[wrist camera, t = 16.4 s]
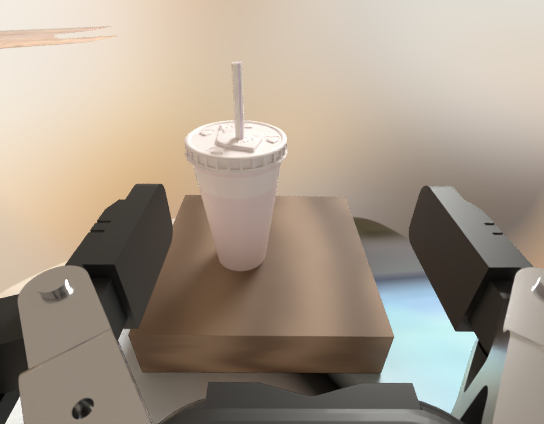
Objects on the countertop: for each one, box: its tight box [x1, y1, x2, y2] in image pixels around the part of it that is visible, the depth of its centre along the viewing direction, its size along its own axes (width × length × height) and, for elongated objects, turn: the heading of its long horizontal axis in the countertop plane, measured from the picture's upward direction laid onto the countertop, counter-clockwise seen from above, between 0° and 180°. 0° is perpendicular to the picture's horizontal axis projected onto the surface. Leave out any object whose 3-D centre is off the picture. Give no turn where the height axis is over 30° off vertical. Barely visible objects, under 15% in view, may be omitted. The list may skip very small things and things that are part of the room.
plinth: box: [129, 195, 394, 373], centre depth 28 cm, size 16×16×4 cm
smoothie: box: [185, 62, 287, 271], centre depth 22 cm, size 6×6×14 cm
